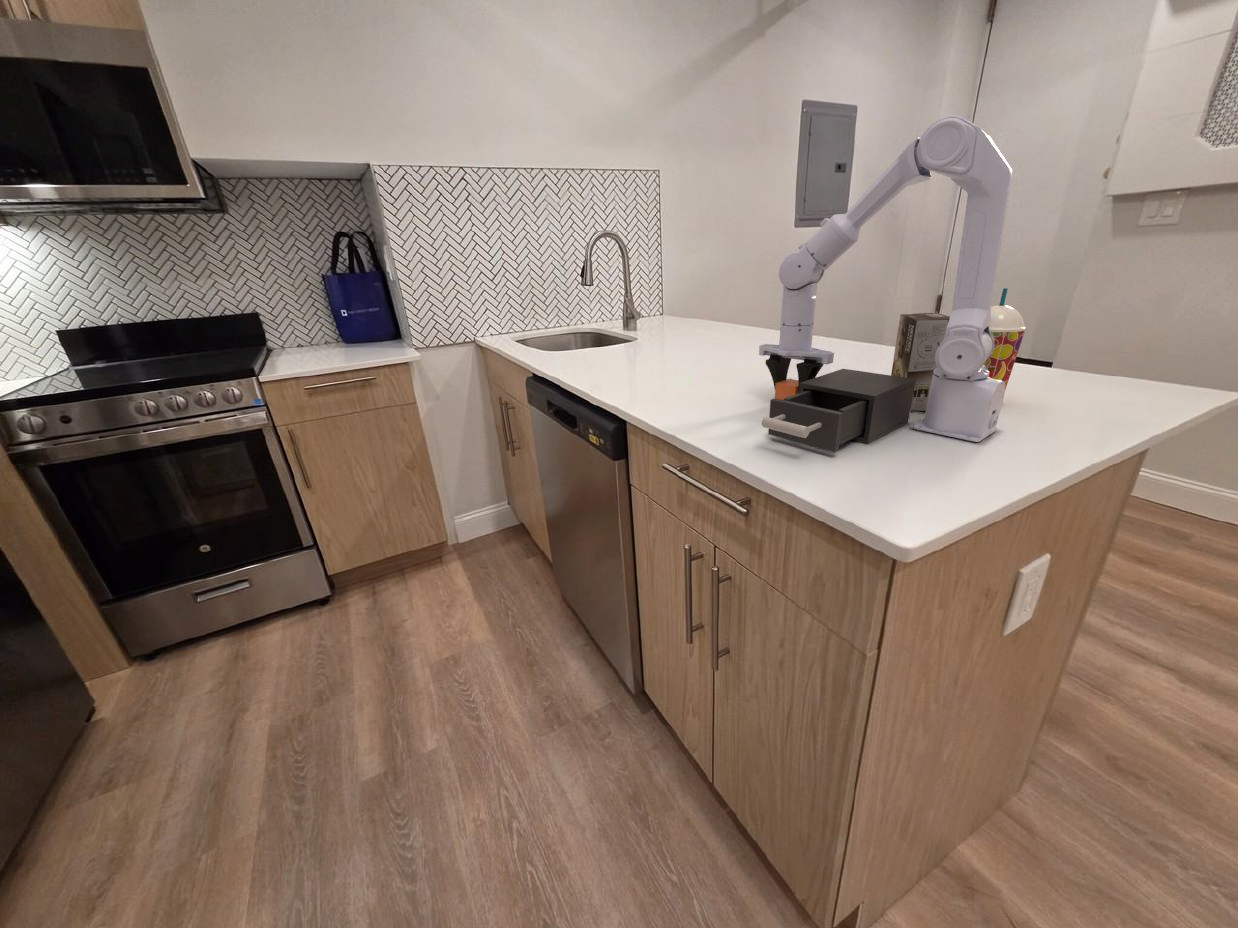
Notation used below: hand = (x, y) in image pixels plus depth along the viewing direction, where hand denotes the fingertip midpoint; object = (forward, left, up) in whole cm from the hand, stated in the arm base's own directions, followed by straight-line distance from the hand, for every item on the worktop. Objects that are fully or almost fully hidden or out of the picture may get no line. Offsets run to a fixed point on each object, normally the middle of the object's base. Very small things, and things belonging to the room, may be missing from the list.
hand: (790, 396), depth 97 cm
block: (0, 0, -2) cm, 2 cm away
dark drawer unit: (-14, +3, -2) cm, 14 cm away
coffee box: (-16, -15, -2) cm, 22 cm away
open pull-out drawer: (-14, +15, -1) cm, 20 cm away
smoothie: (-24, -24, -2) cm, 34 cm away
